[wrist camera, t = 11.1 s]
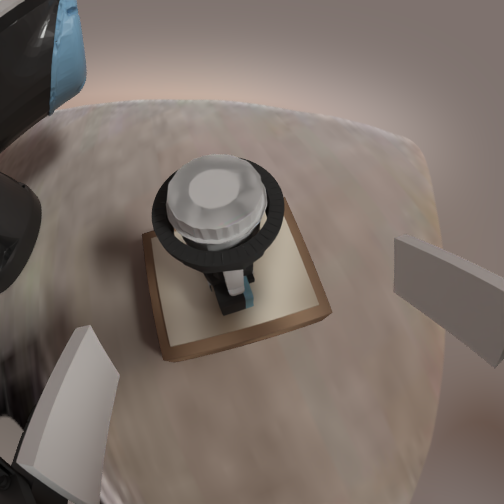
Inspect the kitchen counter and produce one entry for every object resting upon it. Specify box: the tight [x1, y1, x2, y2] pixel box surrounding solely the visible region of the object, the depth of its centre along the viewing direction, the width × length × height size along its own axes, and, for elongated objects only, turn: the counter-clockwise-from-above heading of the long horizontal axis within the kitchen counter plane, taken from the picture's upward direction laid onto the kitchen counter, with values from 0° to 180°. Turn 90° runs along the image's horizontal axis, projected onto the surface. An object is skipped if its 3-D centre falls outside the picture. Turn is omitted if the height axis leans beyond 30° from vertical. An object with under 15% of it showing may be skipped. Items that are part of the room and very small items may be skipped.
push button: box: [152, 154, 285, 316], centre depth 14 cm, size 7×5×10 cm
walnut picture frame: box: [142, 197, 332, 362], centre depth 20 cm, size 12×10×3 cm
